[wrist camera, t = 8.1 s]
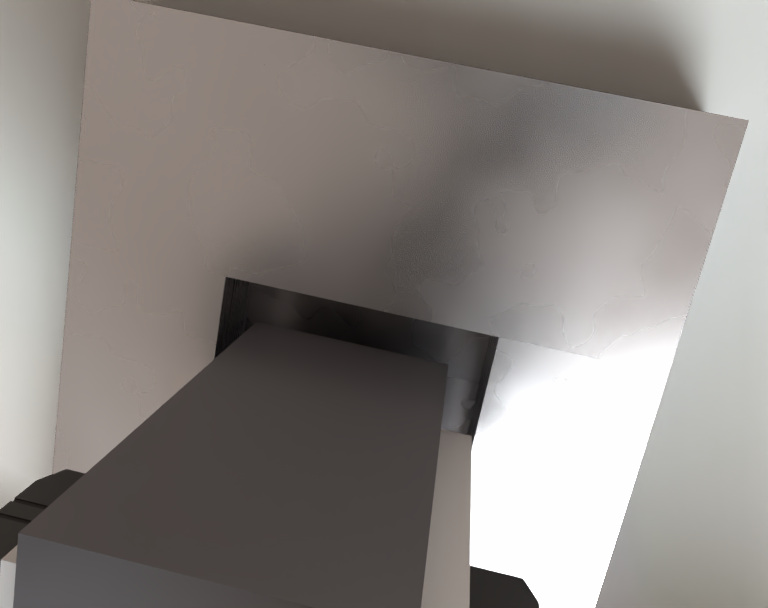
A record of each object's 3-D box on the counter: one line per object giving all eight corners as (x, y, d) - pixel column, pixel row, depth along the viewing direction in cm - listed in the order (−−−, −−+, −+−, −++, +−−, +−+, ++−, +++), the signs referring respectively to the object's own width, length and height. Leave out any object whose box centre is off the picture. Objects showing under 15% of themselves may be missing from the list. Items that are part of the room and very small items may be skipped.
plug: (256, 321, 15) (19, 532, 7) (448, 364, 14) (418, 634, 7) (224, 533, 16) (-9, 909, 8) (399, 576, 16) (326, 1007, 8)
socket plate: (148, 12, 16) (73, -14, 13) (706, 121, 15) (762, 120, 12) (86, 627, 20) (19, 713, 17) (519, 741, 19) (527, 852, 16)
